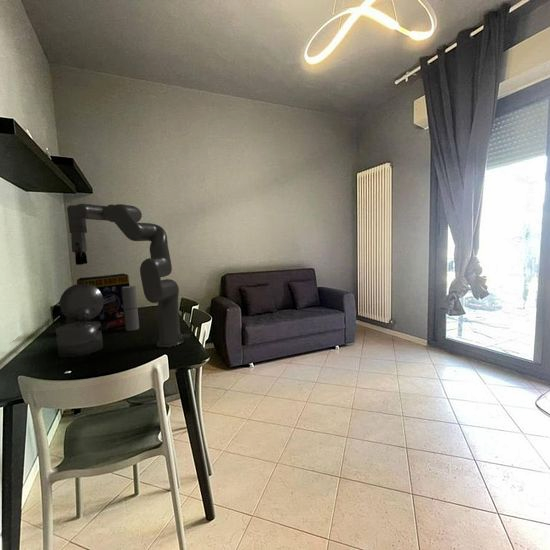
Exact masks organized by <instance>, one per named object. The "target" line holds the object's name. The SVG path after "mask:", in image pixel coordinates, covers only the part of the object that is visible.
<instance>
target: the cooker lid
mask: <svg viewBox="0 0 550 550" xmlns="http://www.w3.org/2000/svg"><path fill="white" fill-rule="evenodd" d="M103 305H104V298H103V295H102V293H101V292H100V291H99V289H97V288H96V287H94V286H92V285H89V284H77V283H76V284H73V285H70V286H69V287H68V288H66V289H65V290H64V291H63V293H62V294H61V296H60V300H59V307H60V310H61V313H62V314H63V315H64V316H65V317H66V318H68V319H69V320H71V321H75V322H82V321H88V320H91V319H93V318H95V317H96V316H97V315H98V314H99V313H100V312H101V310H102V308H103Z"/></svg>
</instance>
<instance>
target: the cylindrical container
mask: <svg viewBox="0 0 550 550" xmlns="http://www.w3.org/2000/svg"><path fill="white" fill-rule="evenodd" d="M122 294H123V305H124V315H125V325H124V326H125V331H127V332H130V331H131V332H132V331H137V330H139V329H140V321H139V311H138V300H137V290H136V286H135V285H130V286H127V287H122Z"/></svg>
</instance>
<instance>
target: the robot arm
mask: <svg viewBox="0 0 550 550" xmlns="http://www.w3.org/2000/svg"><path fill="white" fill-rule="evenodd" d="M66 207H67V208H66V209H67V210H66V211H67V212H66V213H67V221H68V231H69V234H70V237H71V238H70V239H71V251H72V253H74V257H75V265H76V266H79V265H80V266H81V265H82V266H83V265H85V264H88V257H87V251H88V247H87V240H86V238H87V237H86V234H87V233H88V231H87V221H86V220H94V221H108V222H111V223H114V224H115V225H116V226H117V228H118V229H119V230H120V231H121V232H122V234H123V235H124V236H125V238H127V239H128V240H130V241H132V242H150V245H149V254H150V258H146V259H143V261H142V262H141V263H140V267H139V274H140V280H141V285H142V290H143V295H144V298H145V299H146V300H147V302H150V303H152V304H157V321H158V333H159V340H158V341H157V342H156V347H159V348H162V347H168V348H173V347H172V346H174V347H177V346H176V345H178V346H180V345H179V344H181V343H182V344H184V343H185V339H190V338H191V334H190V333H182V332H181V327H180V314H179V293H180V292H179V291H180V290H179V285H178V283H177V282H176V281H175V280H173V279H169V278H168V279H167V278H166V277H168V276H169V275H170V274H172V270H173V267H172V261H171V255H170V250H169V244H168V243H169V242H168V235H167V233H166V231H165V229H164V228H163V227H162V226H160V225H158V224H155V223H152V222H151V223H150V222H140V221H141V219H142V217H143V214H142V211H141V210H140V209H139V208H138V206H137V207H136V206H135V205H130V204H123V203H122V204H121V203H119V204H108V205H98V204H91V203H90V204H89V203H79V204H75V205H74V204H73V205H72V204H71V205H68V206H66ZM161 278H164V279H161ZM183 342H184V343H183ZM182 344H181V345H182Z"/></svg>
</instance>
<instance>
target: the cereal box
mask: <svg viewBox="0 0 550 550" xmlns="http://www.w3.org/2000/svg"><path fill="white" fill-rule="evenodd" d="M129 279H130V276H129V275H128V274H127V273H117V274H110V275H109V274H108V275H97V276H89V277H88V276H87V277H80V278H78V279H76V284H89V285H92V286H94V287H96V288H97V289H99V291H100V292H101V293H102V295H103V298H104V305H103V308H102V310H101V312H100V313H99V314H98V315H97V316H96V317H95V318H93V319H91V320H88V321H99V322H100V323H101V325H102V324H109V327H108V329H107V330H111V329H115V328H119V327H123V326H124V327H125V326H126V325H125V315H124V305H123V294H122V287H127V286H131V285H130V280H129ZM82 322H84V321H82ZM103 331H104V330H101V332H103Z"/></svg>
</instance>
